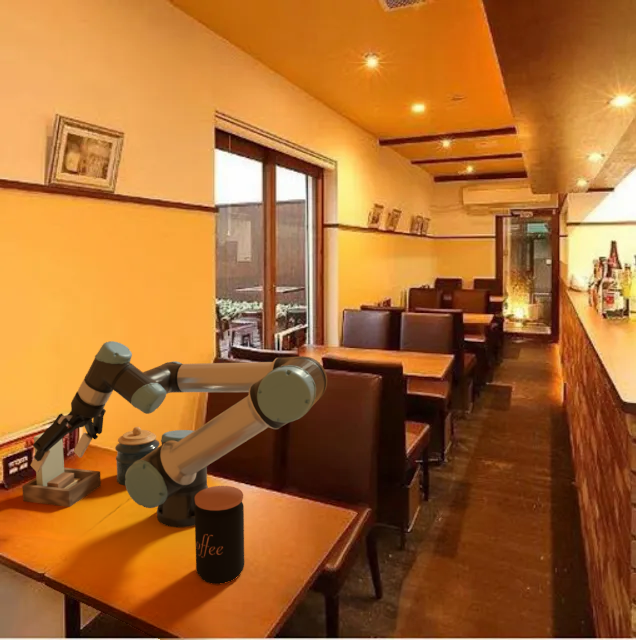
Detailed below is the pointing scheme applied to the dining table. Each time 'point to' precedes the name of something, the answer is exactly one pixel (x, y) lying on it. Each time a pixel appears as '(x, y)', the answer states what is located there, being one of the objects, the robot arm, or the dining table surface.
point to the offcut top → (61, 480)
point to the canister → (133, 450)
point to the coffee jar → (219, 533)
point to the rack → (60, 495)
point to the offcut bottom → (73, 483)
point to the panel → (51, 463)
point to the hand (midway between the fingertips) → (57, 461)
